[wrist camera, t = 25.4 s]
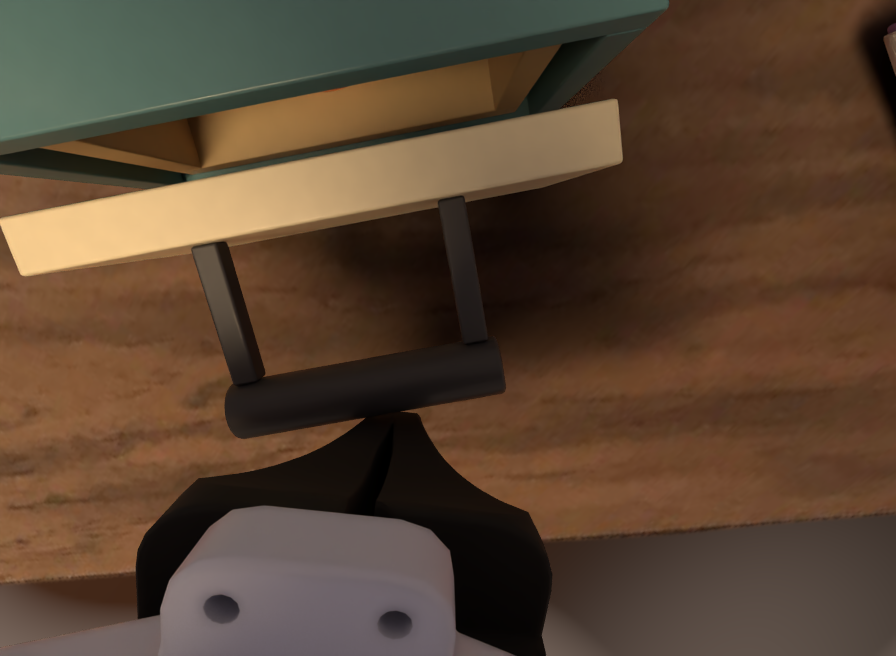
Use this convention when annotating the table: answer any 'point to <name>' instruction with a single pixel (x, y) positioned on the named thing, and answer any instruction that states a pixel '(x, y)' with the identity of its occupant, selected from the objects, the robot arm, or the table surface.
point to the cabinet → (262, 63)
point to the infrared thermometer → (891, 45)
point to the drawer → (330, 215)
